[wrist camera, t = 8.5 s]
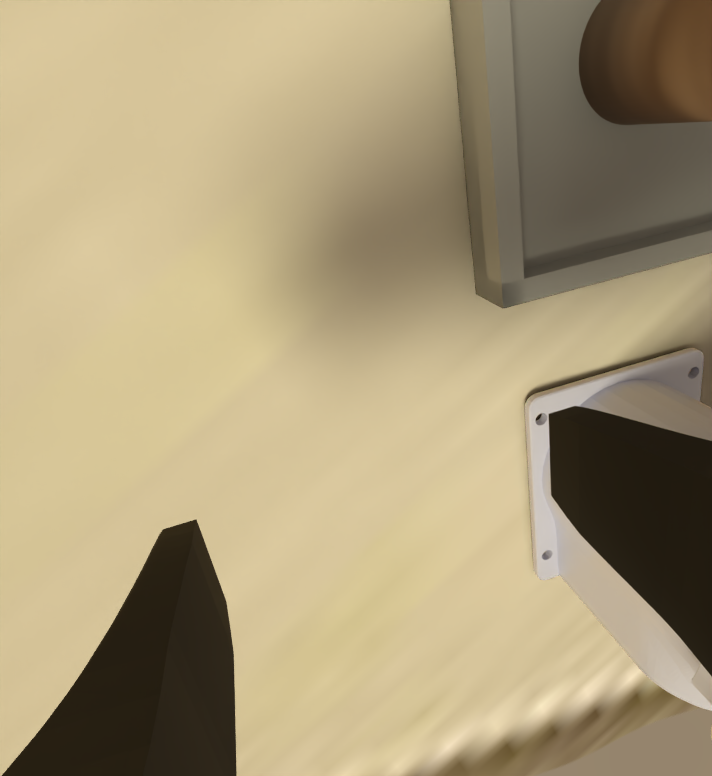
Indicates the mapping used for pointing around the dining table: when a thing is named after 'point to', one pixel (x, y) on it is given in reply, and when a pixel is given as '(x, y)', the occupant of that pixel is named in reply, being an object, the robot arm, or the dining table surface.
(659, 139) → the slate tray
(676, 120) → the walnut peg
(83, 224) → the dining table surface
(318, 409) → the dining table surface
